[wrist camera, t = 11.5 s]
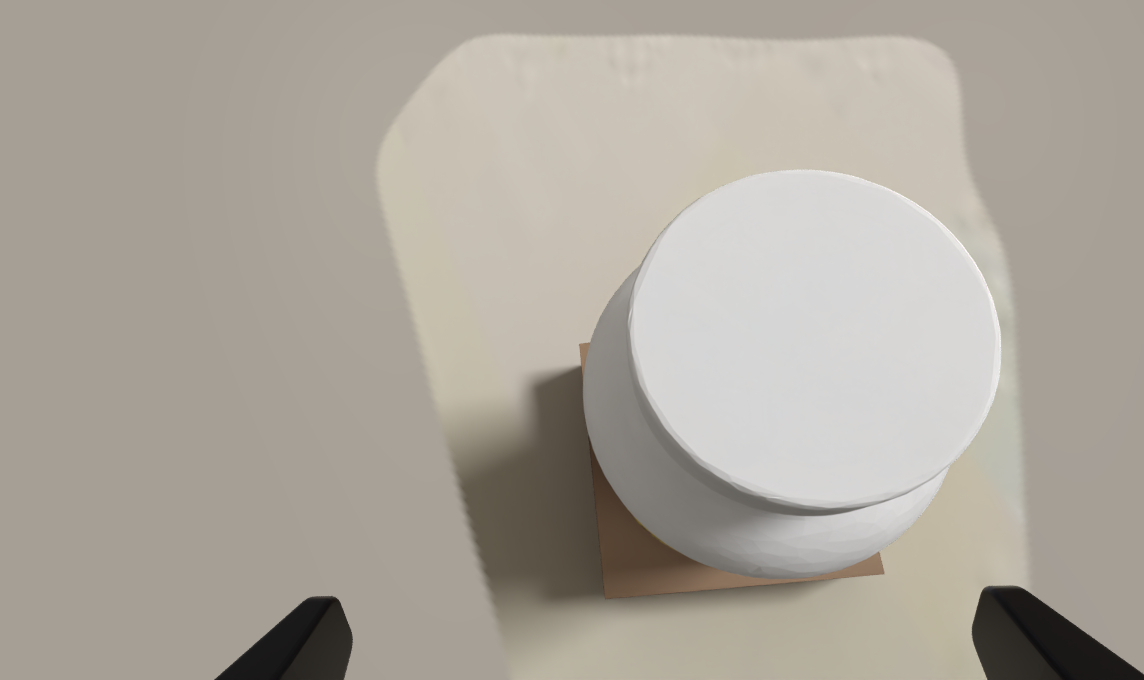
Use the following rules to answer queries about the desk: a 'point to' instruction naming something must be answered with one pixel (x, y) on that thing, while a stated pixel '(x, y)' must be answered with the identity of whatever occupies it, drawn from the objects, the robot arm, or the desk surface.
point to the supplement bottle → (791, 373)
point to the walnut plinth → (665, 551)
